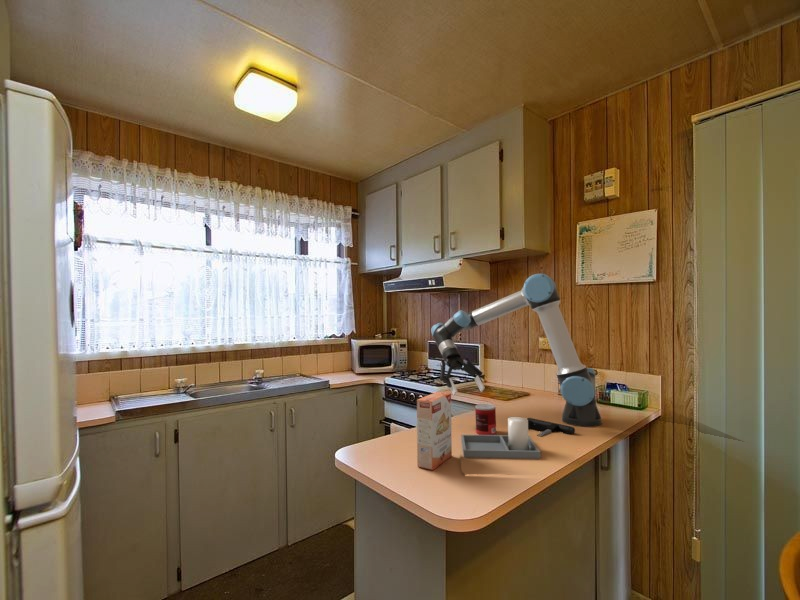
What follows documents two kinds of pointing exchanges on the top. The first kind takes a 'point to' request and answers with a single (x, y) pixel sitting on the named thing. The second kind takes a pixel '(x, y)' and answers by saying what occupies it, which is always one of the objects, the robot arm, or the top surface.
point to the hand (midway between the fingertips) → (469, 391)
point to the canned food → (485, 419)
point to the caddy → (495, 447)
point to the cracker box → (434, 430)
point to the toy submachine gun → (548, 427)
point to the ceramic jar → (518, 434)
